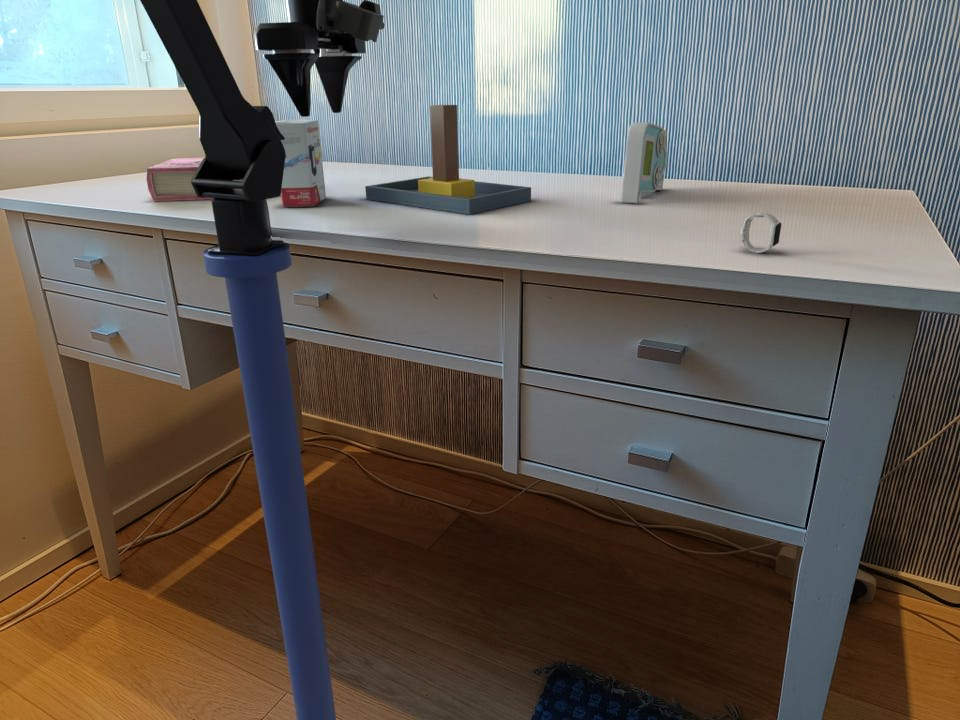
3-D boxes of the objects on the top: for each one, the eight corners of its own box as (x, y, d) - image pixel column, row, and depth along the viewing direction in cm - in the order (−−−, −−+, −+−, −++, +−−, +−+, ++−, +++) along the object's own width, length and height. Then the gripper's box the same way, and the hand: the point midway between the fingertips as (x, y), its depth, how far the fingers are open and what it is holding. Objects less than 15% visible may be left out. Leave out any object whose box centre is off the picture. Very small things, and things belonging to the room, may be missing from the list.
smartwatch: (735, 251, 71) (741, 212, 69) (742, 247, 72) (748, 209, 71) (771, 256, 69) (778, 216, 67) (778, 252, 70) (784, 212, 69)
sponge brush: (451, 201, 100) (449, 106, 95) (418, 196, 104) (414, 105, 99) (474, 196, 103) (473, 104, 98) (441, 192, 107) (438, 104, 102)
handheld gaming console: (664, 202, 110) (638, 204, 97) (646, 201, 111) (619, 202, 99) (672, 129, 107) (647, 121, 94) (654, 129, 108) (627, 121, 96)
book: (175, 187, 121) (169, 158, 119) (263, 185, 122) (259, 156, 120) (147, 201, 107) (141, 168, 106) (247, 198, 109) (242, 165, 107)
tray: (531, 200, 102) (531, 187, 101) (469, 214, 92) (469, 199, 92) (428, 188, 115) (428, 176, 114) (366, 199, 106) (365, 186, 105)
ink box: (314, 207, 100) (305, 121, 95) (280, 207, 100) (270, 122, 95) (327, 197, 108) (319, 118, 103) (296, 198, 108) (287, 118, 103)
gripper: (338, -40, 72) (351, 118, 78) (398, -18, 89) (405, 110, 95) (242, -34, 74) (262, 119, 80) (318, -14, 91) (330, 111, 97)
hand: (321, 114), depth 88 cm, fingers open, 9 cm apart
